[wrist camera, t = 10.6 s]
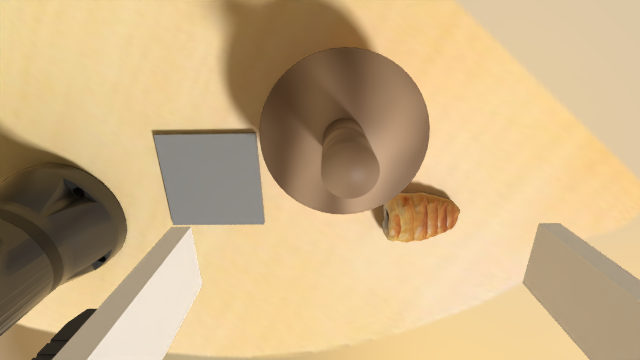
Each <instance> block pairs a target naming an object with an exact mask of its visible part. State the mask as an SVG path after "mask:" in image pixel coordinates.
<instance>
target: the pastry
mask: <svg viewBox="0 0 640 360" xmlns="http://www.w3.org/2000/svg"><path fill="white" fill-rule="evenodd" d="M383 210H384V220H383V223H382V226H383V232H384V234H385V236H386V237H387V239H388V240H391V241H401V242H411V241H422V240H424V239H428V238H430V237H433V236H436V235H438V234H441V233H444V232H446V231H447V230H449V229H452V228H453V227H454V225H455V224H456V222H457V219H458V215H459V213H460V209H459V208H458V206H457V205H456V204H455V203H454V202H453V201H452V200H450V199H445V198H441V197H439V196H437V195H430V194H427V193H425V192H423V193H399V194H398V195H397V196H395V197H394V198H393V199H391V200H390V201H388V202H386V203H385V204H383Z"/></svg>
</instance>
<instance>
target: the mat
mask: <svg viewBox="0 0 640 360" xmlns="http://www.w3.org/2000/svg"><path fill="white" fill-rule="evenodd" d="M154 140H155V144H156V149H157V153H158V158H159V162H160V167H161V171H162V176H163V180H164V185H165V190H166V194H167V199H168V203H169V208H170V212H171V217H172V221H173V225H236V224H264V223H265V219H264V209H263V198H262V188H261V178H260V167H259V157H258V146H257V136H256V133H199V134H155V135H154Z"/></svg>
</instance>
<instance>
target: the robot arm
mask: <svg viewBox="0 0 640 360" xmlns="http://www.w3.org/2000/svg"><path fill="white" fill-rule="evenodd" d="M126 234H127V224H126V219H125V215H124V212H123V210H122V208H121V206H120V204H119V202H118V201H117V199H116V198H115V196H114V195H113V194H112V193H111V191H110V190H109V189H108V188H107V187H106V186H105V185H103V184H102V183H101V182H100V181H99V180H97V179H96V178H94V177H93V176H91V175H90V174H88V173H86V172H84V171H82V170H79V169H77V168H74V167H71V166H68V165H63V164H55V163H46V164H39V165H35V166H32V167H30V168H27V169H24V170H22V171H19V172H17V173H15V174H13V175H11V176H10V177H8V178H7V179H5V180H4V181H3V182H2V183H1V184H0V336H1V335H3V334H4V333H5V332H6V331H7V330H8V329H10V328H11V327H12V326H13V325H14V324H15V323H16V322H18V321H19V320H20V319H21V318H22V317H23V316H24V315H26V314H27V313H28V312H29V311H30V310H31V309H32V308H34V307H35V306H36V305H37V304H38V303H39V302H40V301H42V300H43V299H44V298H45V297H46V296H47V295H48V294H50V293H51V292H52V291H53V290H54V289H56V288H57V287H58V286H60V285H62V284H65V283H67V282H69V281H71V280H74V279H76V278H78V277H80V276H83V275H85V274H87V273H89V272H92V271H94V270H96V269H98V268H100V267H101V266H103V265H104V264H106V263H107V262H108V261H109V260H110V259H111V258H112V257H113V256H115V255H116V254H117V253H118V252H119V250H120V249H121V248H122V246H123V244H124V242H125V239H126ZM523 284H524V285H525V286H526V287H527V289H528V290H529V291H530V292H531V293H532V294H533V295H534V297H535V298H536V299H537V300H538V301H539V302H540V303H541V305H542V306H543V307H544V308H545V309H546V310H547V311H548V312H549V314H550V315H551V316H552V317H553V318H554V319H555V321H556V322H557V323H558V324H559V325H560V326H561V327H562V329H563V330H564V331H565V332H566V333H567V334H568V335H569V336H570V338H571V339H572V340H573V341H574V342H575V343H576V345H577V346H578V347H579V348H580V349H581V350H582V351H583V353H584V354H585V355H586V356H587V357H588V358H589V359H590V360H640V280H639V279H638V278H636V277H634V276H633V275H632V274H630V273H629V272H628V271H626V270H625V269H623V268H622V267H621V266H619V265H618V264H616V263H615V262H613V261H612V260H611V259H609V258H608V257H606V256H605V255H604V254H602V253H601V252H599V251H598V250H597V249H595V248H594V247H592V246H591V245H589V244H588V243H587V242H585V241H584V240H582V239H581V238H580V237H578V236H577V235H575V234H574V233H573V232H571V231H570V230H568V229H567V228H566V227H564V226H563V225H561V224H560V223H541V224H539V225H538V229H537V232H536V236H535V240H534V243H533V247H532V250H531V254H530V258H529V261H528V265H527V269H526V272H525V276H524V280H523ZM201 287H202V280H201V275H200V270H199V265H198V260H197V255H196V250H195V244H194V239H193V234H192V229H191V227H171V228H170V229H169V230H168V231H167V232H166V233H165V235H164V236H163V237H162V238H161V239H160V240H159V241H158V242H157V243H156V245H155V246H154V247H153V248H152V249H151V250H150V251H149V252H148V253H147V255H146V256H145V257H144V258H143V259H142V260H141V261H140V262H139V263H138V265H137V266H136V267H135V268H134V269H133V270H132V271H131V272H130V273H129V275H128V276H127V277H126V278H125V279H124V280H123V281H122V282H121V283H120V285H119V286H118V287H117V288H116V289H115V290H114V291H113V292H112V293H111V295H110V296H109V297H108V298H107V299H106V300H105V301H104V302H103V303H102V305H101V306H100V307H99V308H98V309H87V310H85V311H84V312H82V313H81V314H79V315H78V316H77V317H75V318H74V319H72V320H71V321H69V322H68V323H67V324H66V325H65V326H64V327H63V328H62V329H61V330H60V331H59V332H58V333H57V334H56V335H55V336H54V337H53V338H52V339H51V342H50V343H47V344H46V345H45V346H44V348H42V349H41V350H40V352H39V353H38V354H37V357H36V358H33V359H32V360H163V358H164V356H165V354H166V352H167V350H168V348H169V347H170V345H171V343H172V341H173V339H174V337H175V335H176V333H177V332H178V330H179V328H180V326H181V324H182V322H183V320H184V318H185V317H186V315H187V313H188V311H189V309H190V307H191V305H192V304H193V302H194V300H195V298H196V296H197V294H198V292H199V290H200V289H201Z"/></svg>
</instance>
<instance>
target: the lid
mask: <svg viewBox="0 0 640 360" xmlns="http://www.w3.org/2000/svg"><path fill="white" fill-rule="evenodd" d="M429 130H430V126H429V116H428V111H427V107H426V104H425V101H424V98H423V96H422V94H421V92H420V90H419V88H418V86H417V85H416V83H415V82H414V81H413V79H412V78H411V77H410V76H409V74H408V73H407V72H405V71H404V70H403V69H402V68H401V67H400V66H399V65H397V64H396V63H395V62H393V61H392V60H390V59H388V58H386V57H385V56H383V55H381V54H378V53H375V52H372V51H369V50H365V49H360V48H347V47H343V48H333V49H328V50H324V51H320V52H318V53H315V54H312V55H310V56H308V57H306V58H304V59H302V60H301V61H299V62H297V63H296V64H295V65H293V66H292V67H291V68H290V69H288V70H287V71H286V72H285V73H284V74H283V75H282V76H281V77H280V79H279V80H278V81H277V83H276V84H275V85H274V87H273V88H272V90H271V92H270V94H269V95H268V97H267V100H266V102H265V105H264V107H263V111H262V115H261V120H260V145H261V151H262V154H263V158H264V161H265V163H266V166H267V168H268V170H269V172H270V173H271V175H272V177H273V178H274V180H275V181H276V182H277V184H278V185H279V186H280V187H281V188H282V189H283V190H284V191H285V192H286V193H287V194H288V195H289V196H291V197H292V198H293V199H295V200H296V201H298V202H299V203H301V204H303V205H305V206H307V207H309V208H312V209H314V210H318V211H321V212H325V213H331V214H354V213H360V212H364V211H368V210H371V209H374V208H376V207H378V206H381V205H383V204H385V203H386V202H388V201H390V200H391V199H393V198H394V197H395V196H397V195H398V194H399V193H400V192H401V191H402V190H404V189H405V188H406V187H407V186H408V184H409V183H410V182H411V181H412V179H413V178H414V177H415V175H416V173H417V172H418V170H419V169H420V166H421V164H422V162H423V160H424V157H425V154H426V151H427V147H428V142H429Z"/></svg>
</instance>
